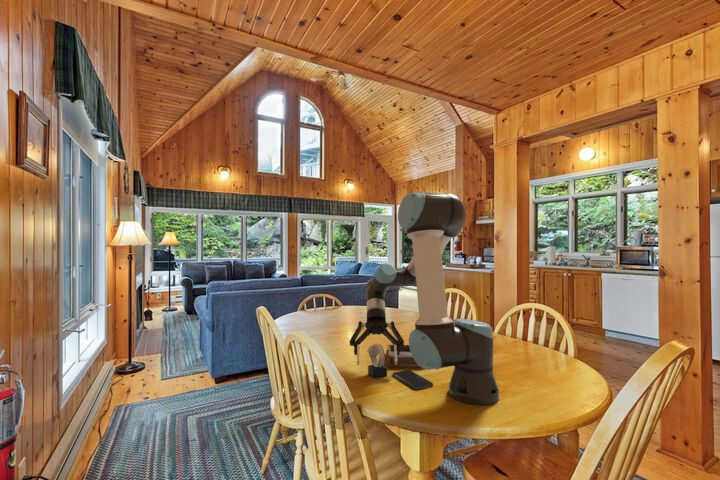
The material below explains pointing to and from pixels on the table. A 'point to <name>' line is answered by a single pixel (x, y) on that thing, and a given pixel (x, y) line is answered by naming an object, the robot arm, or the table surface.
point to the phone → (412, 380)
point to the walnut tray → (401, 358)
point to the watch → (378, 367)
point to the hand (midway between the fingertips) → (377, 363)
